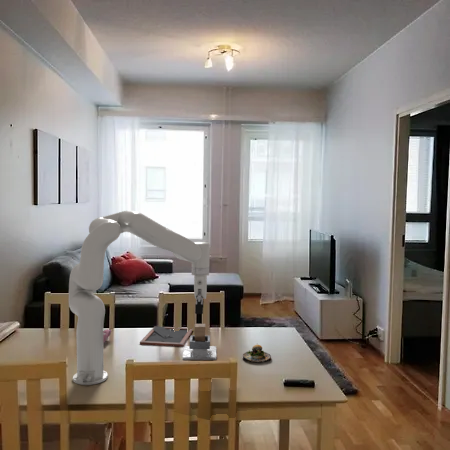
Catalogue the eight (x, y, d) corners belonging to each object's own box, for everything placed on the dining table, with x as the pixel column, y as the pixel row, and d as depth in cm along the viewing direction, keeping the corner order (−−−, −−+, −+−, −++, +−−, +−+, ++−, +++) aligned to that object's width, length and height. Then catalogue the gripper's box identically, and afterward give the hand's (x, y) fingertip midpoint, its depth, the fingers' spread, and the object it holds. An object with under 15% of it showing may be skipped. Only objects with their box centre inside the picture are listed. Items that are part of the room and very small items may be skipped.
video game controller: (102, 349, 216) (109, 335, 215) (93, 344, 215) (100, 331, 215) (107, 342, 225) (114, 329, 225) (99, 337, 225) (105, 324, 225)
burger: (238, 361, 198) (238, 344, 198) (248, 353, 209) (249, 336, 209) (265, 366, 194) (266, 348, 193) (274, 357, 204) (275, 340, 204)
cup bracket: (216, 359, 200) (216, 343, 199) (182, 359, 199) (182, 343, 199) (216, 348, 214) (216, 333, 213) (184, 348, 213) (184, 333, 213)
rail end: (205, 345, 204) (205, 326, 203) (194, 345, 204) (194, 326, 203) (205, 341, 208) (205, 323, 208) (195, 341, 208) (195, 323, 208)
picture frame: (154, 329, 243) (139, 345, 218) (154, 325, 243) (139, 341, 218) (193, 331, 240) (182, 348, 216) (193, 327, 240) (182, 343, 215)
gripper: (209, 274, 195) (207, 316, 196) (209, 268, 213) (208, 306, 214) (190, 274, 195) (189, 315, 196) (192, 267, 212) (191, 306, 213)
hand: (199, 310), depth 205 cm, fingers open, 9 cm apart
